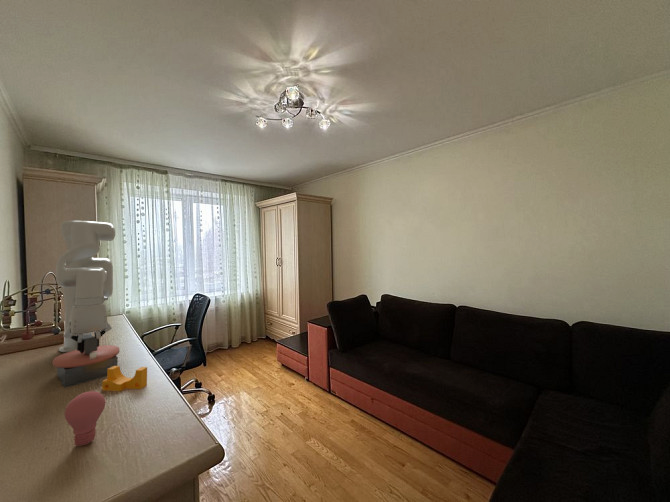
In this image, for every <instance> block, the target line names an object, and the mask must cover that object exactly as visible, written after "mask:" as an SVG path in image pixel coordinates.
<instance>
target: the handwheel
mask: <svg viewBox="0 0 670 502" xmlns="http://www.w3.org/2000/svg"><path fill="white" fill-rule="evenodd" d="M82 340H83V342H84V352H83V353H80V352H79V351H77V350H74V351H70V352H63V353H62V354H60V355H58V356H55V358H53V359H52V366H53V367H55V368H57V367H59V368H71V367H80V366H86V365H90V364H95V363H98V362H102V361H105V360H108V359H110V358H112V357H114V356H118V355H119V353H120V347H119V346H117V345H109V344H107V345H99V347H97V343H98V340H97V339H96V338H95V336H93V334H92V335H91V334H89V335H84V336H83V339H82Z"/></svg>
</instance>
